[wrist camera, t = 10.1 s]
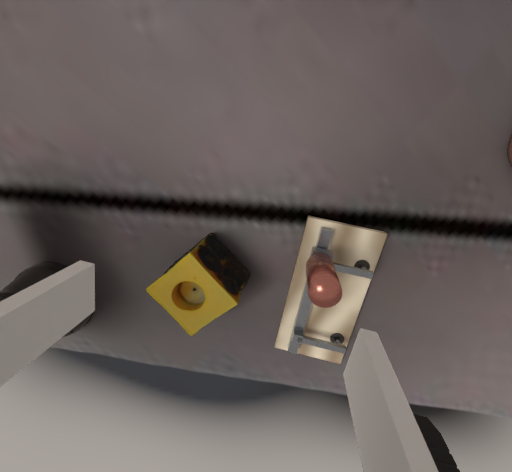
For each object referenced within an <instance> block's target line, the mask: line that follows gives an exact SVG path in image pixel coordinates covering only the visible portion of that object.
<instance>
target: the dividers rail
mask: <svg viewBox="0 0 512 472" xmlns="http://www.w3.org/2000/svg"><path fill="white" fill-rule="evenodd" d="M332 232H333V231H332V229H331V228H326V227H322V226H321V228H320V232H319V236H318V239H317V243H316V247H319V248H323V249H328V246H329V242H330V239H331V235H332ZM311 304H312V302H311V300H310V299H309V296H308V286H307V279H306V283H305V286H304V290H303V293H302V297H301V301H300V304H299V308H298V311H297V315H296V319H295V322H294V326H293V330H292V333H291V337H290V340H289V344H288V352H290V353H294V354H297V351H298V348H299V344H301V343H303V344H307V345H311V346H315V347H319V348H323V349H327V350H331V351H335V352H339V353H343V354H345V352H346V346H345V345H341V341H340V338H339V337H335V338H334V341H335V343H333V342H329V341H325V340H321V339H317V338H313V337H308V336H304V335H303V331H304V327H305V324H306V321H307V317H308V314H309V310H310V307H311Z"/></svg>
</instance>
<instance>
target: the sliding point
mask: <svg viewBox="0 0 512 472" xmlns="http://www.w3.org/2000/svg"><path fill="white" fill-rule="evenodd" d="M333 256H334V254H333V251H332V250H328V249H323V248H319V247H314V246H313V247H312V250H311V254H310V258H309V259H308V260H307V262H306V277H307V286H308V296H309V299H310V300H311V302H312V303H313V304H315V305H316V306H318V307H322V308H329V307H333V306H335V305H336V304H337V303H339V301H340V300H341V298H342V288H341V285H340V282H339V279H338V276H337V273H336V271H338V272H342V273H347V274H351V275H355V276H360V277H364V278H369V279H372V277H373V275H374V272H373V271H370V270H367V268H366V267H365V266H364V265H360V266H359V268H357V267H353V266H348V265H344V264H339V263H335V262H333V261H332V260H333Z"/></svg>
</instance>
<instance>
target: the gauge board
mask: <svg viewBox="0 0 512 472" xmlns="http://www.w3.org/2000/svg"><path fill="white" fill-rule="evenodd" d="M321 226H322V227H326V228H331V229H332V231H333V232H332V235H331V239H330V242H329V246H328V250H332V251H333V254H334V256H333V260H332V261H333V262H335V263H339V264H344V265H348V266H353V267H357V268H359V266H360V265H364V266H365V267H366V268H367V270H370V271H373V272H374V270H375V267H376V265H377V262H378V259H379V256H380V254H381V251H382V248H383V245H384V243H385V240H386V237H387V233H386V232H383V231H379V230H374V229H369V228H365V227H360V226H355V225H351V224H346V223H341V222H337V221H332V220H328V219H323V218H318V217H314V216H309V215H308V218H307V222H306V226H305V230H304V234H303V238H302V241H301V245H300V249H299V253H298V257H297V261H296V265H295V269H294V272H293V276H292V280H291V284H290V288H289V292H288V296H287V300H286V304H285V307H284V311H283V315H282V319H281V323H280V327H279V331H278V335H277V338H276V342H275V348H279V349H283V350H287V351H288V344H289V340H290V337H291V333H292V330H293V326H294V322H295V319H296V315H297V311H298V308H299V304H300V301H301V297H302V293H303V290H304V286H305V283H306V279H307V277H306V262H307V260H308V259H309V258H310V254H311V250H312V247H313V246H314V247H316V243H317V239H318V236H319V232H320V228H321ZM336 273H337V276H338V279H339V282H340V285H341V288H342V298H341V300H340V301H339V303H337V304H336V305H335V306H333V307H329V308H322V307H318V306H316V305H315V304H313V303H312V304H311V307H310V310H309V314H308V317H307V321H306V324H305V327H304V331H303V335H304V336H308V337H313V338H317V339H321V340H325V341H329V342H333V343H335V341H334V338H335V337H339V338H340V341H341V345H345V346H346V347H347V344H348V342H349V339H350V336H351V333H352V331H353V328H354V325H355V322H356V320H357V317H358V314H359V311H360V309H361V306H362V303H363V300H364V298H365V295H366V292H367V289H368V287H369V284H370V281H371V279H369V278H364V277H360V276H355V275H351V274H347V273H342V272H338V271H336ZM297 353H298V354H302V355H306V356H310V357H314V358H318V359H322V360H326V361H330V362H334V363H338V364H341V361H342V358H343V355H344V354H343V353H339V352H335V351H331V350H327V349H323V348H319V347H315V346H311V345H307V344H303V343H301V344H299V348H298V351H297Z"/></svg>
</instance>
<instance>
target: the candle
mask: <svg viewBox="0 0 512 472" xmlns="http://www.w3.org/2000/svg"><path fill="white" fill-rule="evenodd" d="M249 277H250V272H248V271H247V270H246V268H245V267H244V266H243V265H242V263H241V262H240V261H239V260H238V259H237V258H236V257H235V256H234V255H233V254H232V253H231V252H230V250H229V249H227V247H226V246H224V245H223V244H222V243H221V242H220V241H219V240H218V238H217V237H216V235H215V234H213V233H210V234H209V235H207V236H206V237H205V238H204V239H202V240H201V241H200V242H198V244H196V245H195V246H194V247H193V248H192V249H190V250H189V252H187V253H185V254H184V255H183V256H182V257H181V258H180V259H179V260H177V261H176V262H175V263H174V264H173V265H172V266H171V267H169V269H168V270H167V271H166V272H165V273H164V274H163V275H162V276H161V277H160V278H159V279H157V280H156V281H155V282H154V283H153V284H151V285H150V286H149V287H148V288H147V290H146V291H147V292H148V293H149V294H150V295H151V296H152V297H153V298H154V299H155V300H156V301H157V302H158V303H159V304H161V306H162V307H163V308H164V309H165V310H166V311H167V312H168V313H169V314H170V315H171V316H172V317H173V318H174V319H175V320H176V321H177V322H178V323H179V324H180V325H181V326H182V327H183V328H184V330H185V331H186V332H187V333H188V334H189V335H194V334H196V333H197V332H198V331H199V330H200V329H201V328H202V327H204V326H205V325H207V324H208V323H210V322H211V321H213V320H214V319H216V318H217V317H219V316H220V315H222V314H224V313H225V312H227V311H228V310H230V309H232V308H233V307H235V306H236V305H237V304H238V302H239V297H240V295H241V293H240V291H241V290H242V289H243V287H245V285H246V284H247V281H248V278H249Z"/></svg>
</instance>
